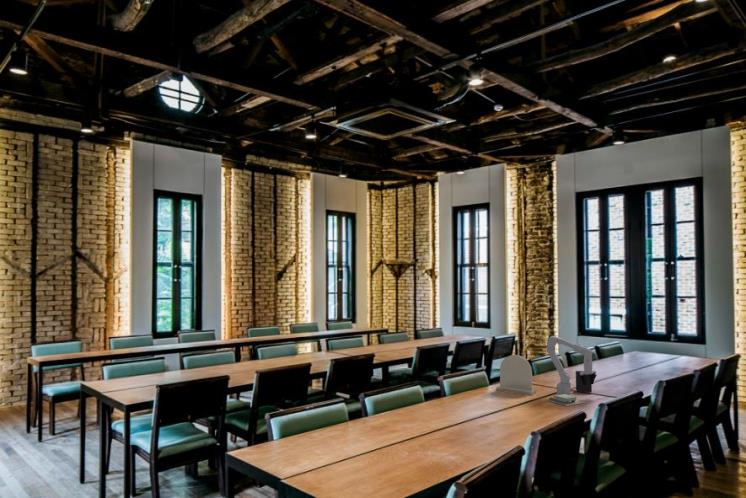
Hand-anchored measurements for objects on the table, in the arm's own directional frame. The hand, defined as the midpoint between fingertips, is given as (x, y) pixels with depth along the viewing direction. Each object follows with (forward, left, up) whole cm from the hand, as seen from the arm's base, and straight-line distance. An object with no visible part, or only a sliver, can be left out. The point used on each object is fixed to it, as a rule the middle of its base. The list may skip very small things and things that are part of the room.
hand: (588, 384), depth 375 cm
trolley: (+3, -27, -9) cm, 28 cm away
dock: (+3, -25, -9) cm, 27 cm away
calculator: (-17, +15, -10) cm, 25 cm away
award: (-37, -35, -10) cm, 52 cm away
